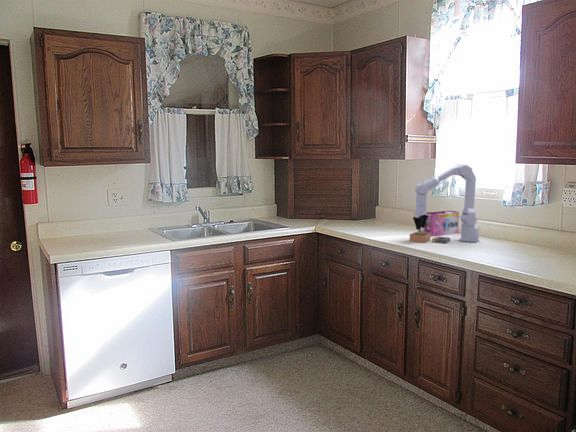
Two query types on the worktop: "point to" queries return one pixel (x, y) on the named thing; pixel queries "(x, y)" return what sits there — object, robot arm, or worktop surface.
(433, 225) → the gum box
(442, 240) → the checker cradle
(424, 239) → the cup
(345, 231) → the worktop surface
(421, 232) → the battery cell
